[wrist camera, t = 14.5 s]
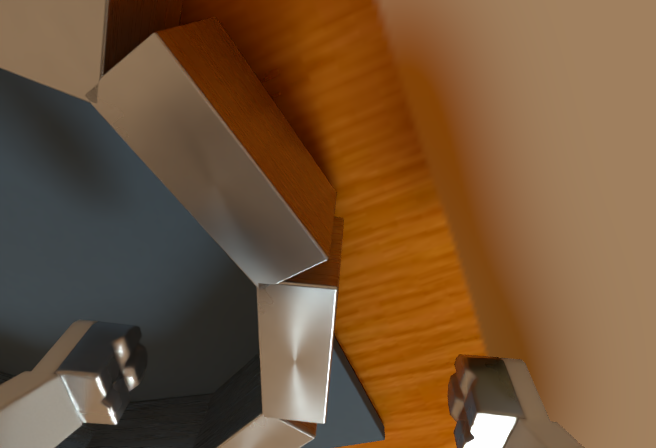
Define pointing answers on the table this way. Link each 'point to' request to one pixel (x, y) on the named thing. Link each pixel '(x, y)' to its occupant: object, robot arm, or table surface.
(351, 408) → the mat
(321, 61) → the table surface
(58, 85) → the ring
